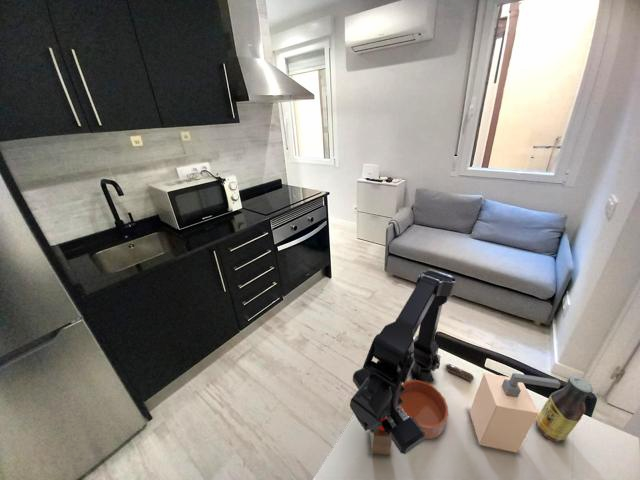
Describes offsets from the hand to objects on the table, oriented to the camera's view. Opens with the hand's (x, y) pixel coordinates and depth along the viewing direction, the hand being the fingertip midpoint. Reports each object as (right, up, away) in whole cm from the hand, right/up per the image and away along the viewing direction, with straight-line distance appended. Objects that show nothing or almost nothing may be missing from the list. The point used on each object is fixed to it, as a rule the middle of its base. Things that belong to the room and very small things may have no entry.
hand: (382, 424), depth 63 cm
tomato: (0, +1, 0) cm, 1 cm away
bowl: (+13, -4, +11) cm, 17 cm away
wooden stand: (0, -8, +4) cm, 9 cm away
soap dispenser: (+33, -6, +6) cm, 34 cm away
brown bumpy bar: (+30, +1, +21) cm, 37 cm away
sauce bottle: (+46, -6, +6) cm, 47 cm away
